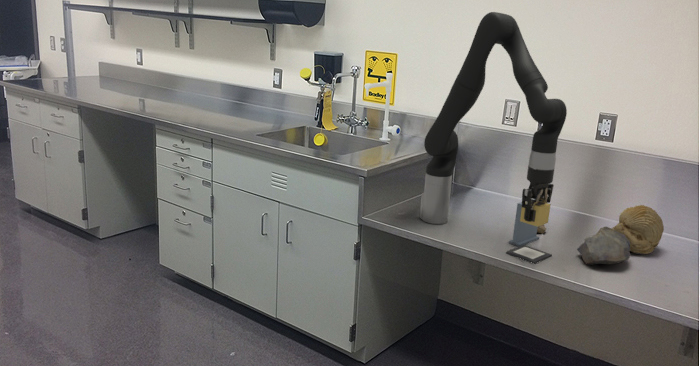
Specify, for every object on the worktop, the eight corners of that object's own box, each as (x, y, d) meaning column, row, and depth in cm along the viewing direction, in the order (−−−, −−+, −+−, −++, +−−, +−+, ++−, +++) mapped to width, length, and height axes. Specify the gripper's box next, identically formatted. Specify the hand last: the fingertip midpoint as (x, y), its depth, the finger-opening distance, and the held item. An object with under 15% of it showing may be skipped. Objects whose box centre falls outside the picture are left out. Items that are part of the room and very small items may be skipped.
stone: (588, 214, 187) (639, 224, 179) (584, 243, 191) (634, 254, 183) (572, 236, 173) (627, 249, 165) (568, 267, 177) (621, 280, 169)
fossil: (594, 242, 195) (602, 199, 191) (633, 237, 202) (641, 196, 198) (630, 259, 182) (639, 214, 178) (670, 254, 188) (680, 210, 184)
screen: (508, 243, 190) (514, 202, 187) (528, 235, 198) (534, 196, 195) (519, 246, 188) (525, 205, 184) (539, 239, 195) (544, 199, 192)
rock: (529, 235, 200) (531, 223, 198) (515, 223, 210) (516, 212, 209) (550, 234, 201) (551, 223, 200) (534, 223, 211) (536, 212, 210)
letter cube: (519, 221, 179) (522, 202, 177) (530, 217, 183) (533, 198, 181) (537, 226, 174) (540, 207, 173) (547, 222, 178) (550, 203, 177)
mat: (505, 253, 182) (506, 251, 182) (523, 246, 188) (523, 244, 188) (534, 263, 175) (534, 261, 174) (551, 256, 181) (551, 254, 181)
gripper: (542, 160, 181) (535, 211, 186) (517, 166, 172) (510, 220, 176) (565, 165, 176) (557, 217, 180) (540, 171, 166) (532, 227, 171)
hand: (534, 218), depth 178 cm, fingers closed on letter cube, 6 cm apart
